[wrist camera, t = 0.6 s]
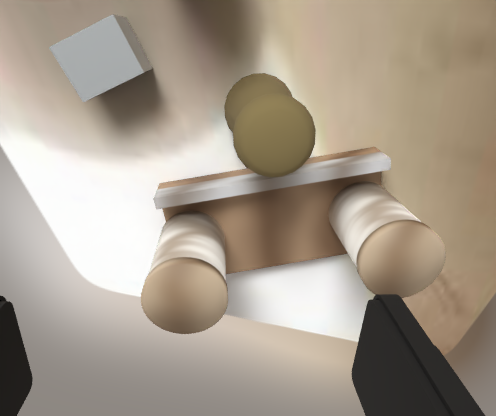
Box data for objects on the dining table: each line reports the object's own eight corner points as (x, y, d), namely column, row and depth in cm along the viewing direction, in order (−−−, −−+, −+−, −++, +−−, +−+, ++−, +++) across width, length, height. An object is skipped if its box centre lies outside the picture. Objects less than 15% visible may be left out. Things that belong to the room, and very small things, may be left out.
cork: (306, 92, 31) (347, 118, 21) (274, 155, 33) (297, 205, 23) (242, 60, 30) (254, 70, 20) (213, 127, 32) (210, 168, 22)
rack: (386, 144, 34) (451, 186, 24) (385, 238, 38) (441, 305, 28) (147, 185, 34) (119, 243, 24) (173, 274, 38) (158, 353, 28)
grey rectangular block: (126, 17, 28) (112, 14, 25) (153, 68, 30) (144, 72, 26) (70, 46, 29) (48, 47, 25) (99, 94, 30) (83, 102, 27)
